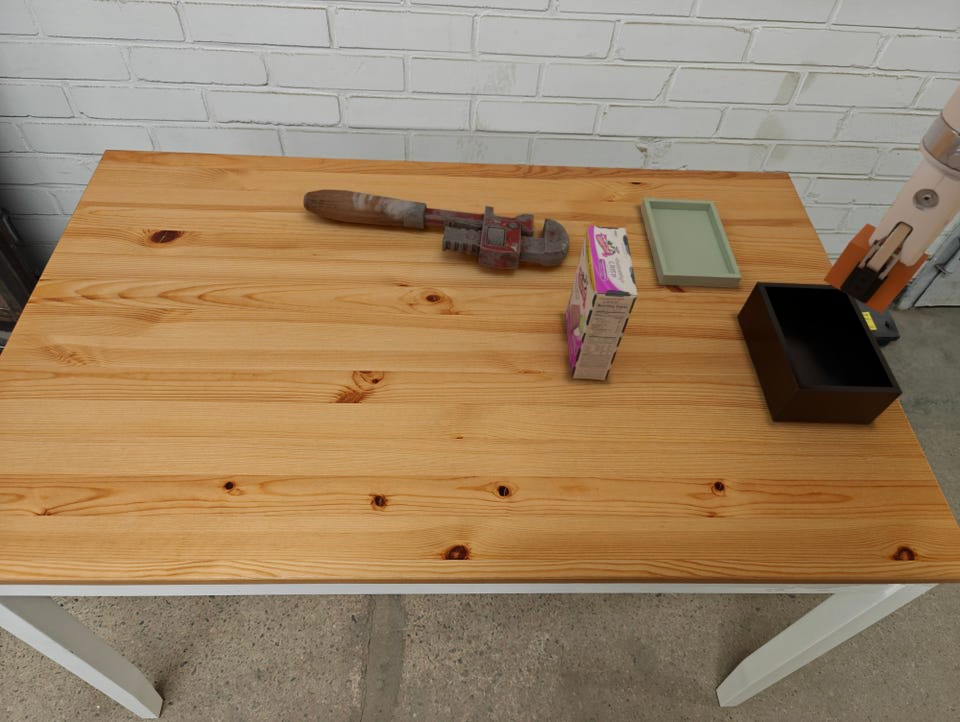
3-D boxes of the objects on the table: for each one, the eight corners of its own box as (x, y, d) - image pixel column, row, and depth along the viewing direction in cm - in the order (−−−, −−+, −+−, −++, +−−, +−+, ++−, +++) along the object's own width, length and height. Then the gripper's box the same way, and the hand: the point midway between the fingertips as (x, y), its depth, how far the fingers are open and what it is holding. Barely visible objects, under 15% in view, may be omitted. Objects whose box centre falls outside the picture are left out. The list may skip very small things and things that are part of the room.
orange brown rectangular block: (896, 294, 72) (929, 255, 67) (881, 313, 70) (913, 275, 65) (839, 262, 75) (867, 222, 70) (822, 280, 73) (850, 241, 68)
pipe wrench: (567, 228, 99) (572, 202, 95) (567, 284, 91) (573, 258, 87) (311, 201, 99) (306, 175, 95) (290, 255, 91) (284, 229, 87)
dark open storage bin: (870, 424, 79) (903, 392, 74) (772, 421, 78) (798, 389, 73) (822, 319, 90) (848, 285, 84) (736, 316, 89) (757, 281, 84)
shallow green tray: (736, 287, 93) (742, 277, 91) (659, 284, 92) (663, 274, 90) (709, 211, 103) (713, 200, 102) (640, 207, 103) (643, 197, 101)
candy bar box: (562, 315, 87) (585, 223, 74) (598, 317, 87) (627, 225, 74) (568, 381, 80) (595, 292, 67) (607, 382, 81) (641, 294, 68)
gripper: (983, 202, 52) (863, 341, 66) (1041, 127, 60) (922, 266, 74) (895, 160, 55) (798, 302, 69) (961, 94, 63) (862, 234, 77)
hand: (863, 282), depth 72 cm, fingers closed on orange brown rectangular block, 4 cm apart
